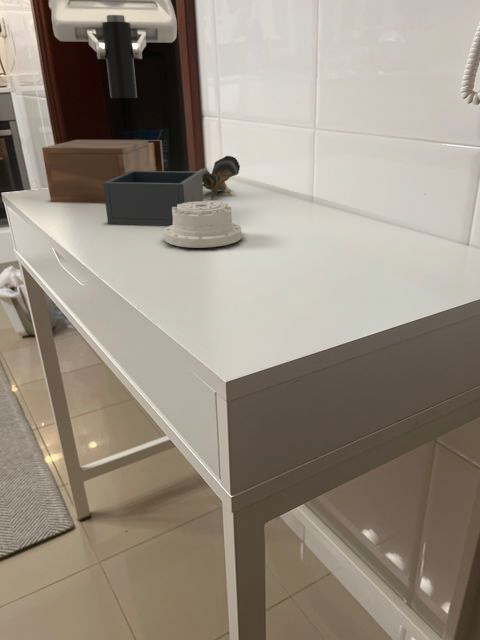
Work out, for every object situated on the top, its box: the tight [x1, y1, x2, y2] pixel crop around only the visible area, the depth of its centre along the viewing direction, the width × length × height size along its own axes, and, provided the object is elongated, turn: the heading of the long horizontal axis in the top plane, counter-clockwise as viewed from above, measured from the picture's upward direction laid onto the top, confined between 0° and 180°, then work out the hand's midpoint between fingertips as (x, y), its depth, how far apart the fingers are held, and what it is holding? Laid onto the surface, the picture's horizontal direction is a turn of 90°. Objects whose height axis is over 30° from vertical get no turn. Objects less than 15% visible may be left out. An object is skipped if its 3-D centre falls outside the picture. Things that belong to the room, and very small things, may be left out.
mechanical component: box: [163, 200, 242, 249], centre depth 72 cm, size 10×4×10 cm
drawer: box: [147, 139, 165, 171], centre depth 111 cm, size 17×13×7 cm
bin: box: [103, 170, 204, 227], centre depth 84 cm, size 12×12×6 cm
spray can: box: [102, 15, 138, 99], centre depth 92 cm, size 4×4×12 cm
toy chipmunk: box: [197, 155, 241, 200], centre depth 99 cm, size 8×7×9 cm
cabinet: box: [41, 139, 151, 204], centre depth 99 cm, size 14×14×9 cm
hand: (120, 55), depth 91 cm, fingers closed on spray can, 4 cm apart
